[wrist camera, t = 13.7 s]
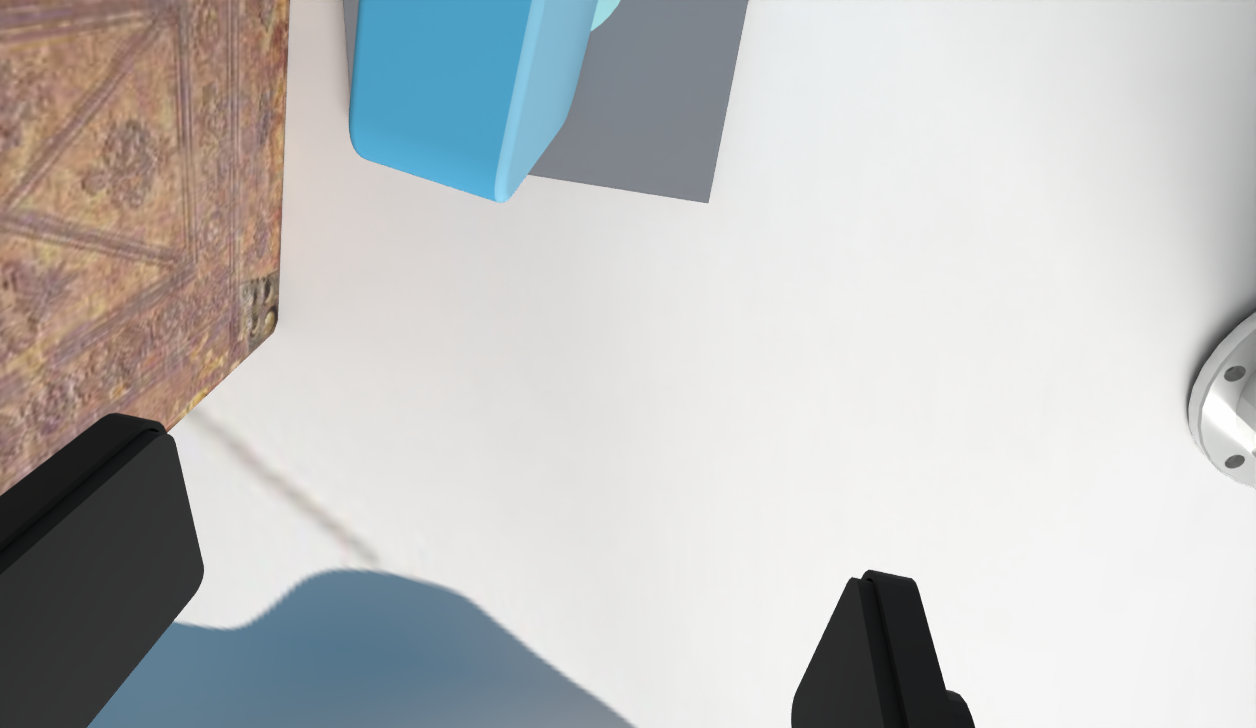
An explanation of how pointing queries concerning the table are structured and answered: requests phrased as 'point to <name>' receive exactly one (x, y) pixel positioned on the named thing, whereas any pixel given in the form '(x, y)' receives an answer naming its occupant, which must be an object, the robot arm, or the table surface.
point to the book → (133, 208)
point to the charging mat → (643, 96)
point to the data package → (465, 86)
